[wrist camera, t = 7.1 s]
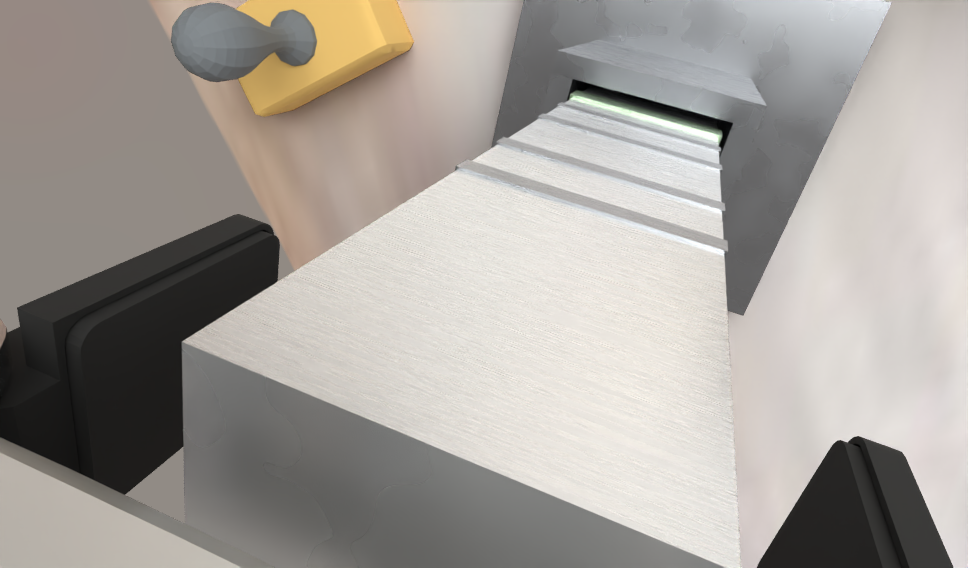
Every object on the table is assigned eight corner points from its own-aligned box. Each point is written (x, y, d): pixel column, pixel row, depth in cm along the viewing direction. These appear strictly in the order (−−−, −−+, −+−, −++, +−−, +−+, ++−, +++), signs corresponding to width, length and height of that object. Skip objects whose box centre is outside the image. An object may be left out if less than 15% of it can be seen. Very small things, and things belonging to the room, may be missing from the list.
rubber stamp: (292, 111, 40) (147, 145, 30) (249, 23, 39) (81, 27, 29) (416, 47, 36) (297, 61, 26) (374, -55, 35) (229, -83, 24)
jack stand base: (550, -72, 31) (471, -113, 21) (880, 3, 28) (979, -2, 18) (484, 216, 39) (401, 291, 28) (741, 300, 36) (754, 420, 25)
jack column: (589, 82, 25) (172, 328, 6) (720, 118, 24) (760, 570, 5) (555, 203, 27) (181, 667, 8) (672, 240, 26) (567, 875, 7)
